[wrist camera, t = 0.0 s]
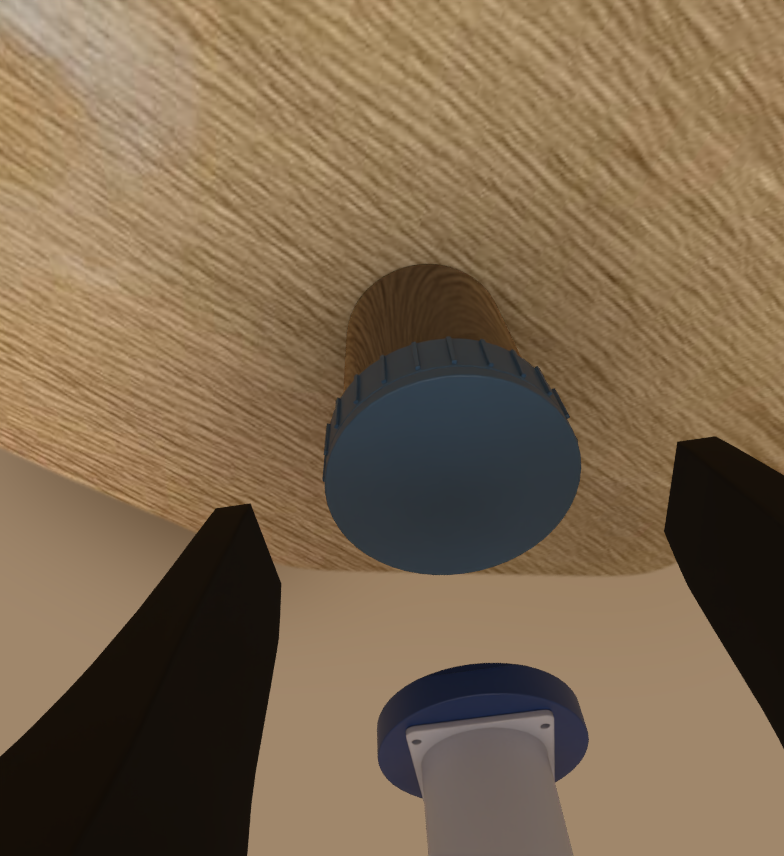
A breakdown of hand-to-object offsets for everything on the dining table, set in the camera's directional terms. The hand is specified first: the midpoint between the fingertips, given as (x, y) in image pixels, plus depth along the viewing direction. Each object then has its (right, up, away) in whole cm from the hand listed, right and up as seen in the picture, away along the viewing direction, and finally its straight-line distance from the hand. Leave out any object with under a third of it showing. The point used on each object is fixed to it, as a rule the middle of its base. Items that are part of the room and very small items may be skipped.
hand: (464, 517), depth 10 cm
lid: (0, 0, +4) cm, 4 cm away
